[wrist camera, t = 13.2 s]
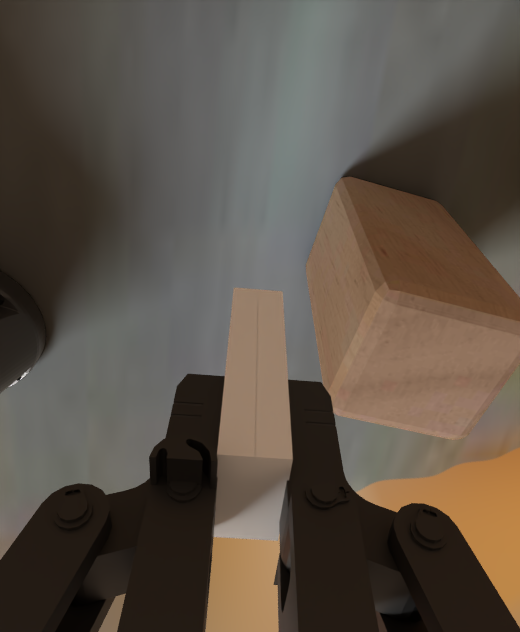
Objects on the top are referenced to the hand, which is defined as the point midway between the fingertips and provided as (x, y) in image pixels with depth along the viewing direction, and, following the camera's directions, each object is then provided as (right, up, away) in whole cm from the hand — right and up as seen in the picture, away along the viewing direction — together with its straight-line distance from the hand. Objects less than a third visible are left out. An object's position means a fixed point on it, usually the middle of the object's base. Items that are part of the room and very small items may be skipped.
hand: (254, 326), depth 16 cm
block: (+10, +8, +30) cm, 33 cm away
